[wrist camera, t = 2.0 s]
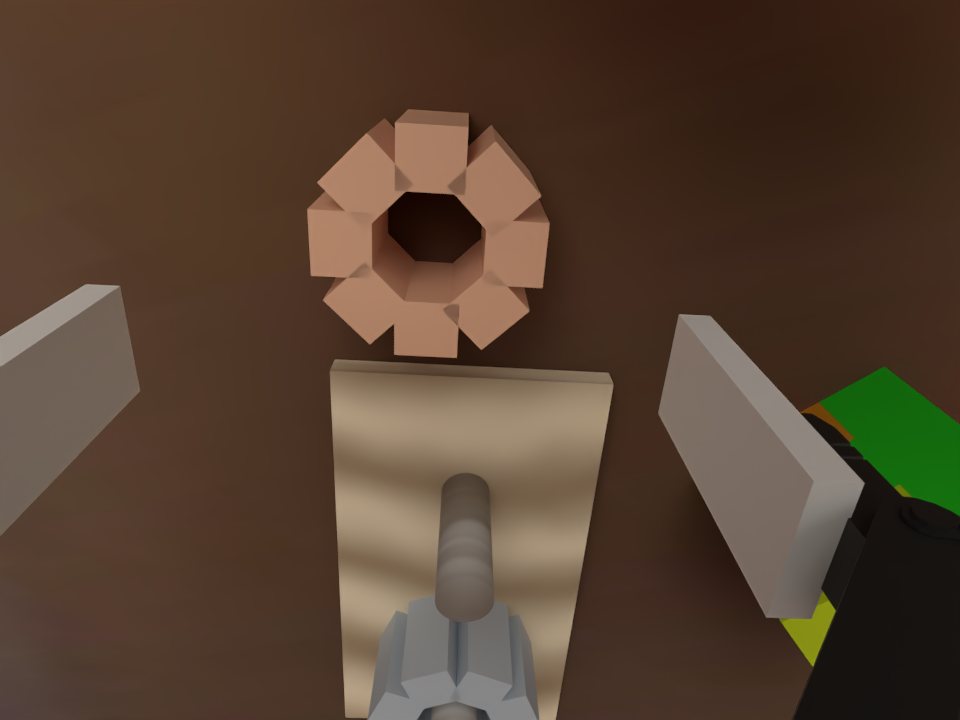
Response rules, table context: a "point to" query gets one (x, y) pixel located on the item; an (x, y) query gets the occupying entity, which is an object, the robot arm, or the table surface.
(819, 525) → the robot arm
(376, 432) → the gear board
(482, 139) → the loose gear
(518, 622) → the gear
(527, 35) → the table surface
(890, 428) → the puzzle toy
